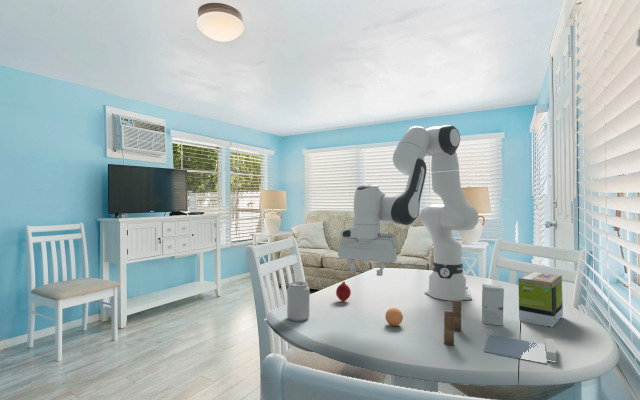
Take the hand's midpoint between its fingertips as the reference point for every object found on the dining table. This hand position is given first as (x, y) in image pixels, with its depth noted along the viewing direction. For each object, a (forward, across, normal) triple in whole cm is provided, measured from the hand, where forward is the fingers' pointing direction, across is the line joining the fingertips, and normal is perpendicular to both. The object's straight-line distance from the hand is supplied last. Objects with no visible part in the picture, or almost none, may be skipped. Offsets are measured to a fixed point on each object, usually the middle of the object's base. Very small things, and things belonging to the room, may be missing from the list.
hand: (366, 273), depth 117 cm
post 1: (+15, -28, +6) cm, 32 cm away
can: (+16, +20, +10) cm, 28 cm away
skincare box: (+16, -37, -20) cm, 44 cm away
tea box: (+15, -50, -33) cm, 62 cm away
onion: (+16, +16, -16) cm, 27 cm away
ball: (+13, -10, 0) cm, 16 cm away
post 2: (+15, -28, -7) cm, 32 cm away
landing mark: (+15, -44, 0) cm, 46 cm away
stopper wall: (+15, -52, 0) cm, 54 cm away
